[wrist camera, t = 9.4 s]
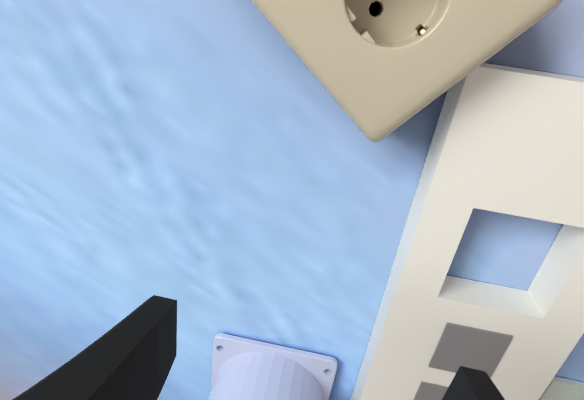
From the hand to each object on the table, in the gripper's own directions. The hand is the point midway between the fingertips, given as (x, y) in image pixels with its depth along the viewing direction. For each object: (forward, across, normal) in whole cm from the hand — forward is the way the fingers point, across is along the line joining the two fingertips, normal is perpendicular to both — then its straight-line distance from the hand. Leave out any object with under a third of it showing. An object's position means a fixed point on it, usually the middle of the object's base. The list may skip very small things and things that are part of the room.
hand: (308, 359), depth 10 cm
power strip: (+10, -9, +4) cm, 14 cm away
